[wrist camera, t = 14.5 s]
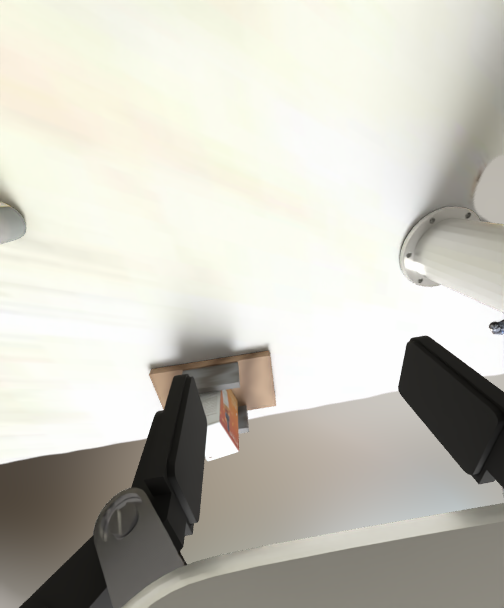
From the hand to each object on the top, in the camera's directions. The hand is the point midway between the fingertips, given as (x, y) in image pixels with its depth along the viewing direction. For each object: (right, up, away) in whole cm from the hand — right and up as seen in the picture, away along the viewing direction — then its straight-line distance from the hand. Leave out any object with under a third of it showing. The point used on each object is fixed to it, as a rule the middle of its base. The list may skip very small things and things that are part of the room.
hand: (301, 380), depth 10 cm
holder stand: (-9, -13, +37) cm, 40 cm away
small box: (-9, -13, +36) cm, 39 cm away
